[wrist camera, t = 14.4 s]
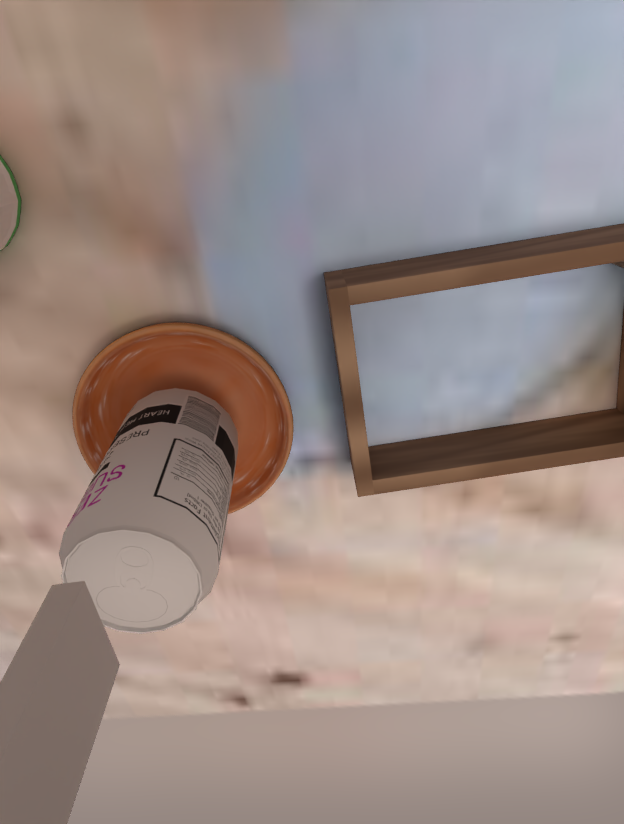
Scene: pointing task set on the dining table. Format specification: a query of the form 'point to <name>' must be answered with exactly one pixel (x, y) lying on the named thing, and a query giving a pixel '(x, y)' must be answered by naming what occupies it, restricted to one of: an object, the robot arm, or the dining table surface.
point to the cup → (8, 205)
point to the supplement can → (155, 513)
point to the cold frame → (485, 447)
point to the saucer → (197, 371)
